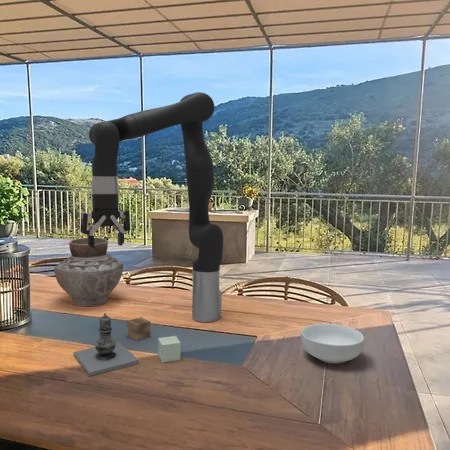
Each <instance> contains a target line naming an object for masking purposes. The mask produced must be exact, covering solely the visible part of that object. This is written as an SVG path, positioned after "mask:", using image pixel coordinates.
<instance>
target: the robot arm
mask: <svg viewBox="0 0 450 450" xmlns="http://www.w3.org/2000/svg"><path fill="white" fill-rule="evenodd" d="M214 112H215V102H214V100H213V98H212V97H211V96H210V95H209V94H207V93H206V92H199V91H197V92H193V93H189V94H187V95H185V96H184V95H183V97H182V98H181V99H180V101H179V102H178V101H177V102H176V103H171V104H169V105H164V106H160V107H159V106H158V107H155V108H150V109H145V110H142V111H137V112H134V113H130V114H126V115H124V116H122V117H121V116H120V117H119V118H115V119H110V120H105V121H101V122H100V121H99V122H98V123H97V122H96V123H95V124H93V125H92V126H91V127H90V129H89V130H88V139H89V141H90V142H91V143H92V144H93V145H94V156H93V158H92V161H91V172H92V173H91V176H92V178H91V208H92V209H91V212H81V213H80V230H79V231H80V233H81V234H83V235H87V238H88V246H90V248H95V245H94V238H95V235H94V234H95V233H96V232H97V230H98V229H99V228H100V227H101V228H106V227H114V228H115V229H116V231H117V245H118V246H119V247H121V246H123V244H125V233H126V232H129V231H131V217H130V212H129V210H125V209H123V210H122V211H120V210H119V208H120V207H119V205H120V204H119V202H120V201H119V200H120V199H119V197H120V196H119V193H120V192H119V191H120V189H119V180H118V162H117V161H118V155H119V149H120V142H123V141H126V140H133V139H137V138H141V137H145V136H147V135H151V134H153V133H156V132H159V131H162V130H165V129H168V128H171V127H175V126H178V125H180V128H181V133H182V134H181V135H182V139H183V153H184V162H185V163H184V164H185V177H186V178H185V179H186V187H187V199H188V237H189V241H190V243H191V244H192V245H193V246H194V247H195V248H197V249H198V258H196V259H194V260H193V262H192V286H191V287H192V294H191V295H192V298H191V299H192V301H191V303H192V304H191V305H192V306H191V310H192V311H191V314H192V316H191V317H192V320H194V321H196V322H199V323H211V322H216V321H218V320H219V319H221V318H222V291H221V290H220V274H221V273H220V270H221V269H220V268H221V267H220V266H221V264H222V262H223V252H224V233H223V231H222V229H221V227H220V226H219V225H217V224H214V223H211V222H210V216H209V215H210V214H209V206H210V205H209V204H210V201H211V198H212V194H213V190H214V188H215V187H214V186H215V172H214V171H215V170H214V163H213V158H212V157H211V154H210V152H209V149H208V147H207V145H206V142H205V138H204V129H203V123H204V122H207V121H208V120H210V118H212V116H213V114H214ZM120 217H121V219H122V224H121V223H120V222H119V221H118V219H119V218H120ZM90 219H92V223H91V224H90V227H89V228H88V221H90ZM122 225H123V226H122Z"/></svg>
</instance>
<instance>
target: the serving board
mask: <svg viewBox="0 0 450 450" xmlns="http://www.w3.org/2000/svg"><path fill="white" fill-rule="evenodd" d="M116 342H117V344H116V347H115V349H114V350H113V351H112V352H114V353H115V354H116V356H115V357H114V358H112V359H109V360H99V359H97V358H96V355H97V354H98V353H99V352H98V351H97V350H96V348H95V346H94V347H90V348H86V349H82V350H77V351H73V357H74V358H75V359H76V360H77V362H78V363H79V365H80V366H81V367H82V368H83V370H84V371H85V372H86V374H87V375H88V377H92V376H97V375H100V374H104V373H107V372H111V371H115V370H118V369H119V370H120V369H124V368H126V367H130V366H134V365H138V364H140V363H139V362H140V361H139V359H138V358H137V357H136V355H134V354H133V353H132V352H131V351H129V349H128V348H126V346H124V345H123V344H122V343H121V342H120V341H116Z"/></svg>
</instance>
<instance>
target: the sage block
mask: <svg viewBox="0 0 450 450" xmlns="http://www.w3.org/2000/svg"><path fill="white" fill-rule="evenodd" d="M157 339H158V340H157V355H158V357H159V359H160V362H161V363H169V362H175V361H176V362H178V361H181V341H180V339H179V338H178V337H177V336H176V335H171V336H165V337H158V338H157Z"/></svg>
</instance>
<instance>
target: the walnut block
mask: <svg viewBox="0 0 450 450" xmlns="http://www.w3.org/2000/svg"><path fill="white" fill-rule="evenodd" d="M126 322H127V323H126V324H127V330H126V331H127V336H126V337H128V338H130V339H132V340H134V341H135V342H138V341H141V340H144V339H145V340H146V339H147V338H151V321H150V320H148V319H146V318H144V317H142V316H141V317H138V318H137V317H136V318H133V319H130V320H129V319H128V320H126Z"/></svg>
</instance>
